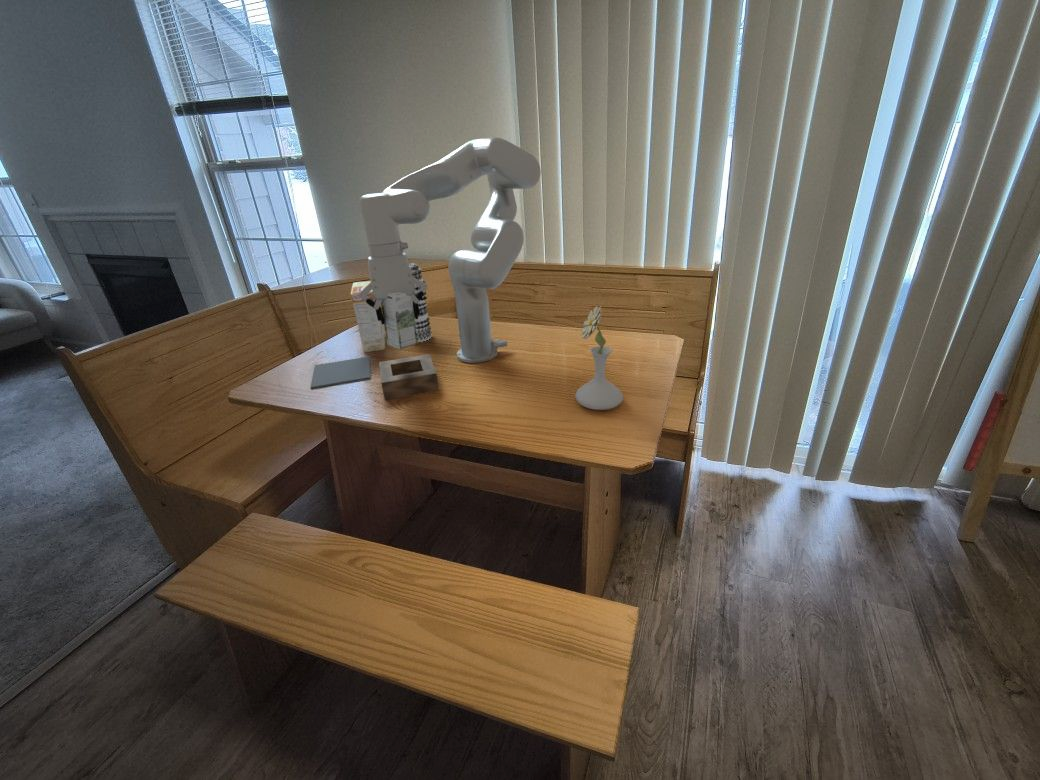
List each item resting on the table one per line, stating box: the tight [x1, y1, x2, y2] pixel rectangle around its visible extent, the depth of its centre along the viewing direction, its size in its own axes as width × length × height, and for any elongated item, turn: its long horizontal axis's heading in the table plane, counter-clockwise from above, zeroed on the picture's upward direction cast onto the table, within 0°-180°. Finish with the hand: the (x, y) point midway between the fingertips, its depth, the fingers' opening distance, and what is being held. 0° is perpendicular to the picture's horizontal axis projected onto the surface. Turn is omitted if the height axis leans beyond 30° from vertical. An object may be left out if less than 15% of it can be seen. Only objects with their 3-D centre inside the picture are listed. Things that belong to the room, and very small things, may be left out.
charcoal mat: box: [310, 356, 372, 390], centre depth 132 cm, size 16×16×1 cm
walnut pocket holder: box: [378, 353, 440, 401], centre depth 122 cm, size 14×14×5 cm
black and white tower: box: [409, 262, 433, 343], centre depth 149 cm, size 9×9×25 cm
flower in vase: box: [574, 305, 624, 411], centre depth 103 cm, size 13×11×25 cm
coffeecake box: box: [350, 280, 386, 353], centre depth 148 cm, size 15×7×20 cm, turn 15°
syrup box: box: [380, 292, 418, 350], centre depth 115 cm, size 6×6×14 cm
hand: (399, 319), depth 115 cm, fingers closed on syrup box, 8 cm apart
